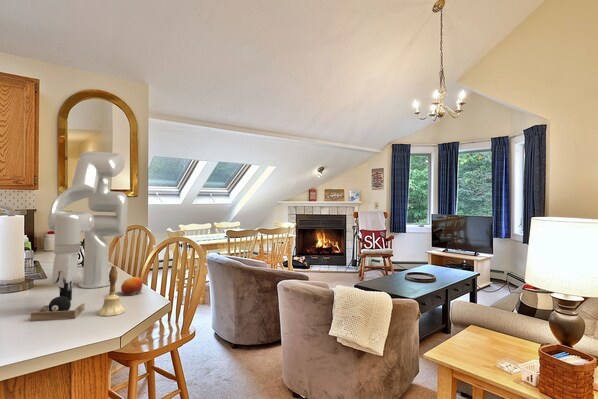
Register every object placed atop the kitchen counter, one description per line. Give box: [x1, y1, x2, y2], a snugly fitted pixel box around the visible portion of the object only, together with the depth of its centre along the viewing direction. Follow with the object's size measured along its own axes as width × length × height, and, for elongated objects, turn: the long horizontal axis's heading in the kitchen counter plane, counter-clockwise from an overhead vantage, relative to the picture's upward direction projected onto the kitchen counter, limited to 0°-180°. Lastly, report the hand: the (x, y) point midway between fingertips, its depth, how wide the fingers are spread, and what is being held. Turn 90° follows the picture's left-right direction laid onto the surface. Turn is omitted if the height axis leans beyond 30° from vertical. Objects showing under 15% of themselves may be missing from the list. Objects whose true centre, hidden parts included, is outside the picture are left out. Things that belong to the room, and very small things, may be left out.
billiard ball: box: [48, 295, 72, 311], centre depth 113 cm, size 6×6×6 cm
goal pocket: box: [30, 303, 86, 322], centre depth 112 cm, size 10×12×2 cm
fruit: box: [120, 276, 143, 296], centre depth 140 cm, size 8×8×8 cm
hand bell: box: [97, 265, 126, 317], centre depth 117 cm, size 8×8×16 cm
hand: (65, 301), depth 118 cm, fingers closed
